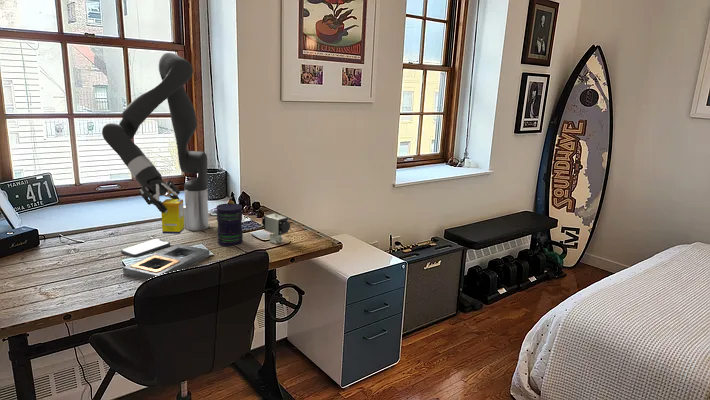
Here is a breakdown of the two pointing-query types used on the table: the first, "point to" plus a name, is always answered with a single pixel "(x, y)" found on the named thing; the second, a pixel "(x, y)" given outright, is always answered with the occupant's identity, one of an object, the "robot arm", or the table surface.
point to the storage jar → (229, 224)
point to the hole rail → (166, 261)
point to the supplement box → (173, 216)
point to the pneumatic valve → (276, 226)
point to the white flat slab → (145, 247)
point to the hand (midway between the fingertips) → (173, 208)
